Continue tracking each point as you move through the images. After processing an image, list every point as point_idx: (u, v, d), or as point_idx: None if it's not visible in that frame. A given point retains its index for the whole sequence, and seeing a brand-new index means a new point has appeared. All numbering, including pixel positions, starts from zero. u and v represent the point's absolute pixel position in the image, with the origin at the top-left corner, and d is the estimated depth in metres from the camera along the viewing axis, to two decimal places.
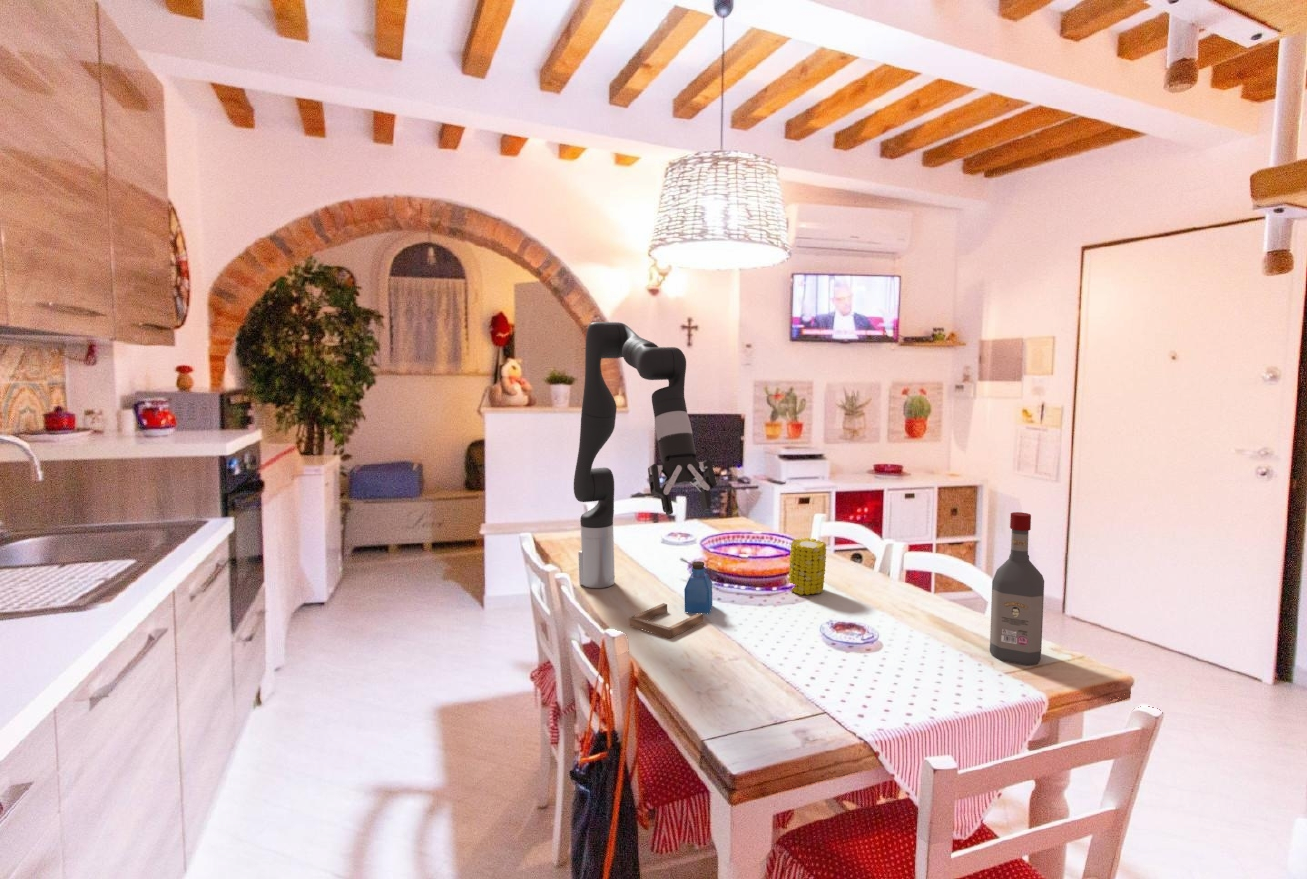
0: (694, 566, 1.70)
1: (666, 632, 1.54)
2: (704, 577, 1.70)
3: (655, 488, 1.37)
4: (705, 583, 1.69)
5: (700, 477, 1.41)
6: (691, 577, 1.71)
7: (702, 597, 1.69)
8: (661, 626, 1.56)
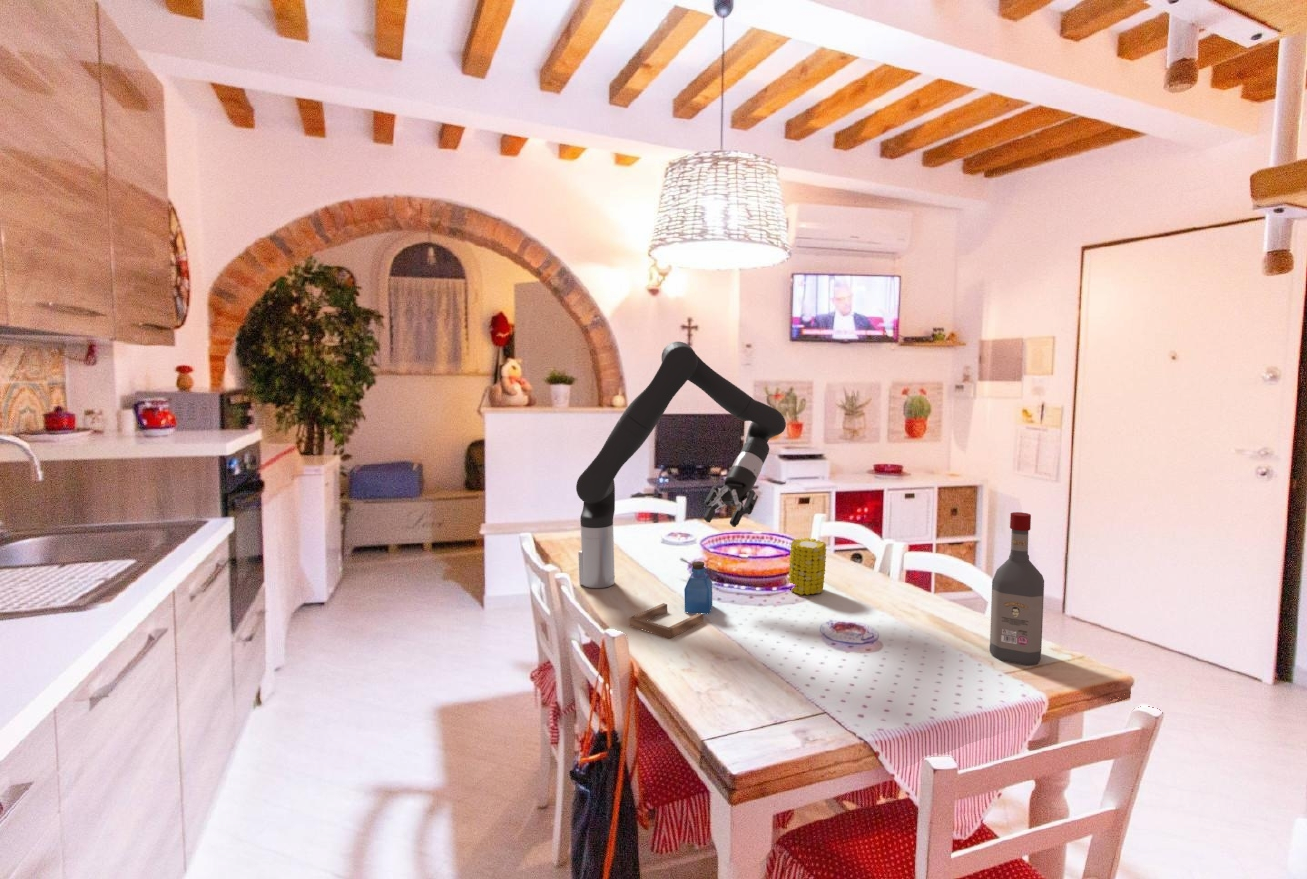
0: (694, 566, 1.70)
1: (666, 632, 1.54)
2: (704, 577, 1.70)
3: None
4: (705, 583, 1.69)
5: None
6: (691, 577, 1.71)
7: (701, 597, 1.69)
8: (661, 626, 1.56)
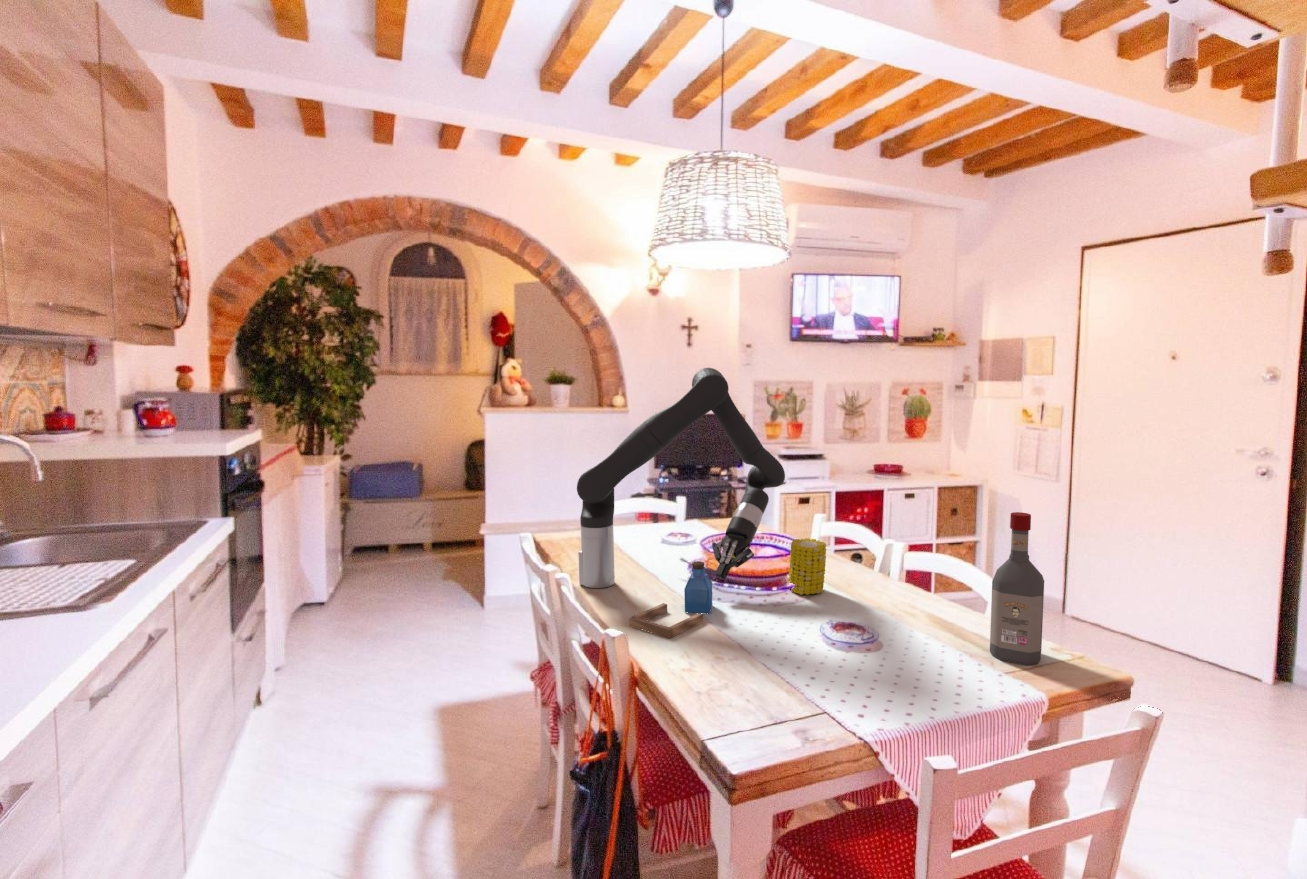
0: (694, 566, 1.70)
1: (666, 632, 1.54)
2: (704, 577, 1.70)
3: None
4: (705, 583, 1.69)
5: None
6: (691, 577, 1.71)
7: (701, 597, 1.69)
8: (661, 626, 1.56)
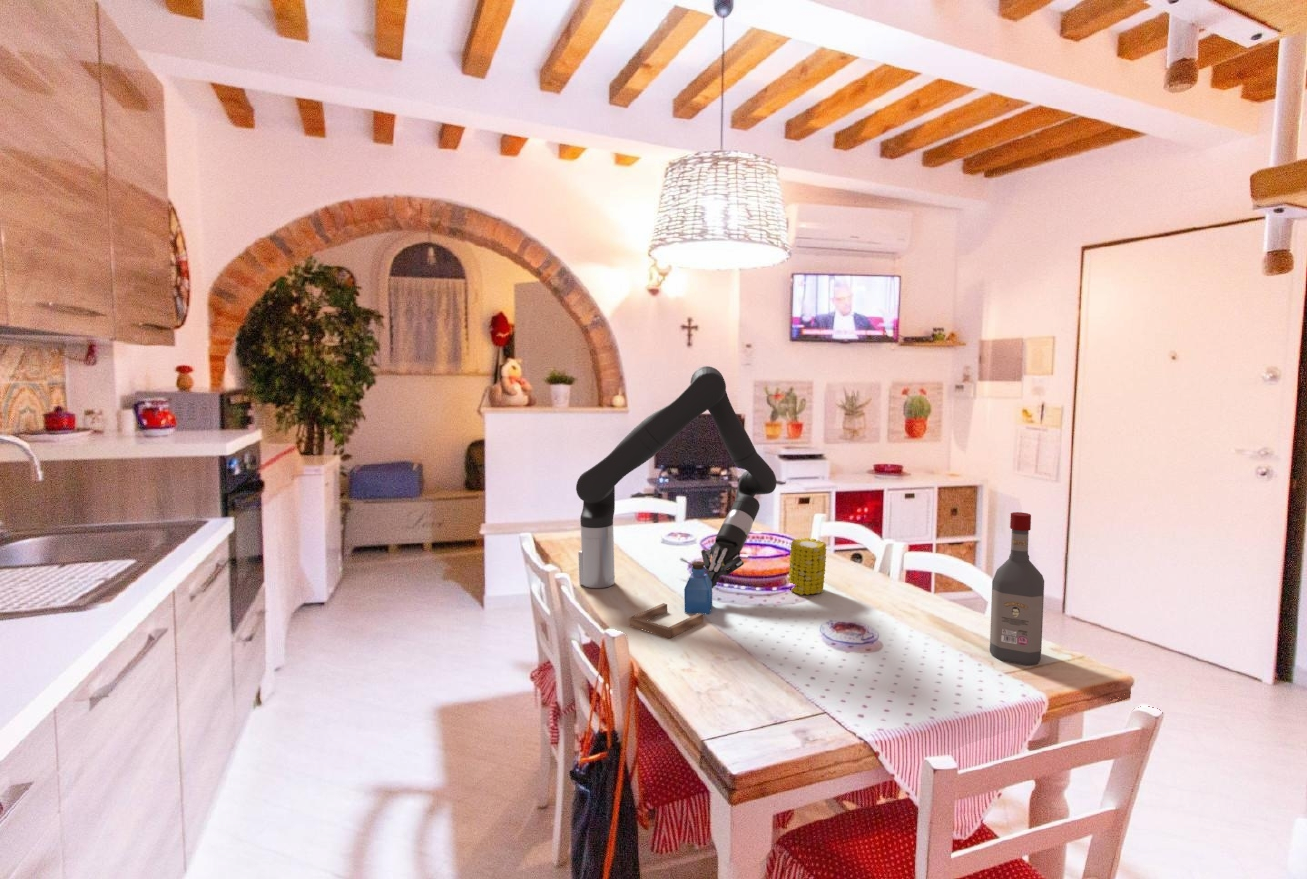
0: (694, 566, 1.70)
1: (666, 632, 1.54)
2: (704, 577, 1.70)
3: None
4: (705, 583, 1.69)
5: None
6: (691, 577, 1.71)
7: (701, 597, 1.69)
8: (661, 626, 1.56)
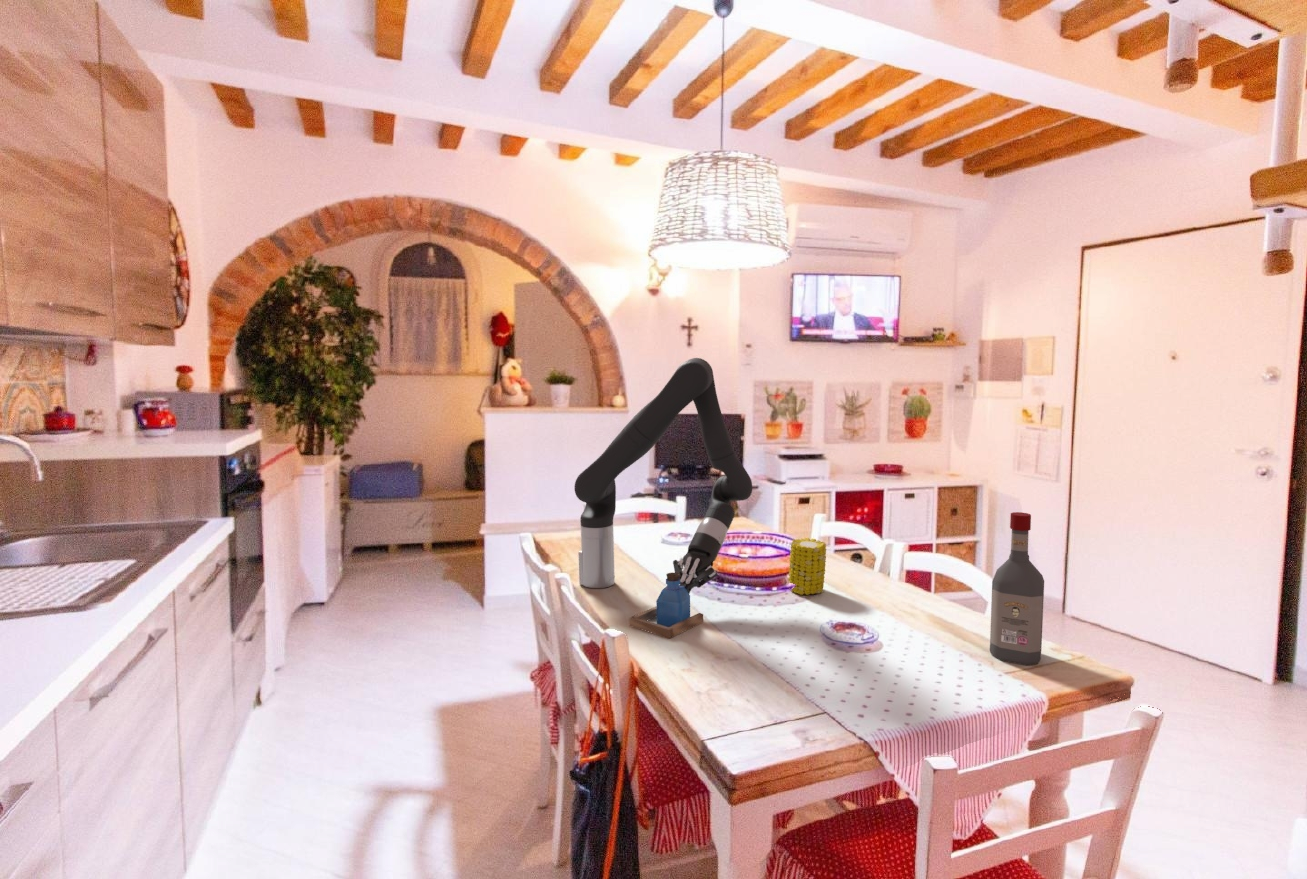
0: (668, 577, 1.61)
1: (666, 632, 1.54)
2: (678, 590, 1.61)
3: None
4: (677, 596, 1.59)
5: None
6: (665, 589, 1.62)
7: (673, 610, 1.59)
8: (661, 626, 1.56)
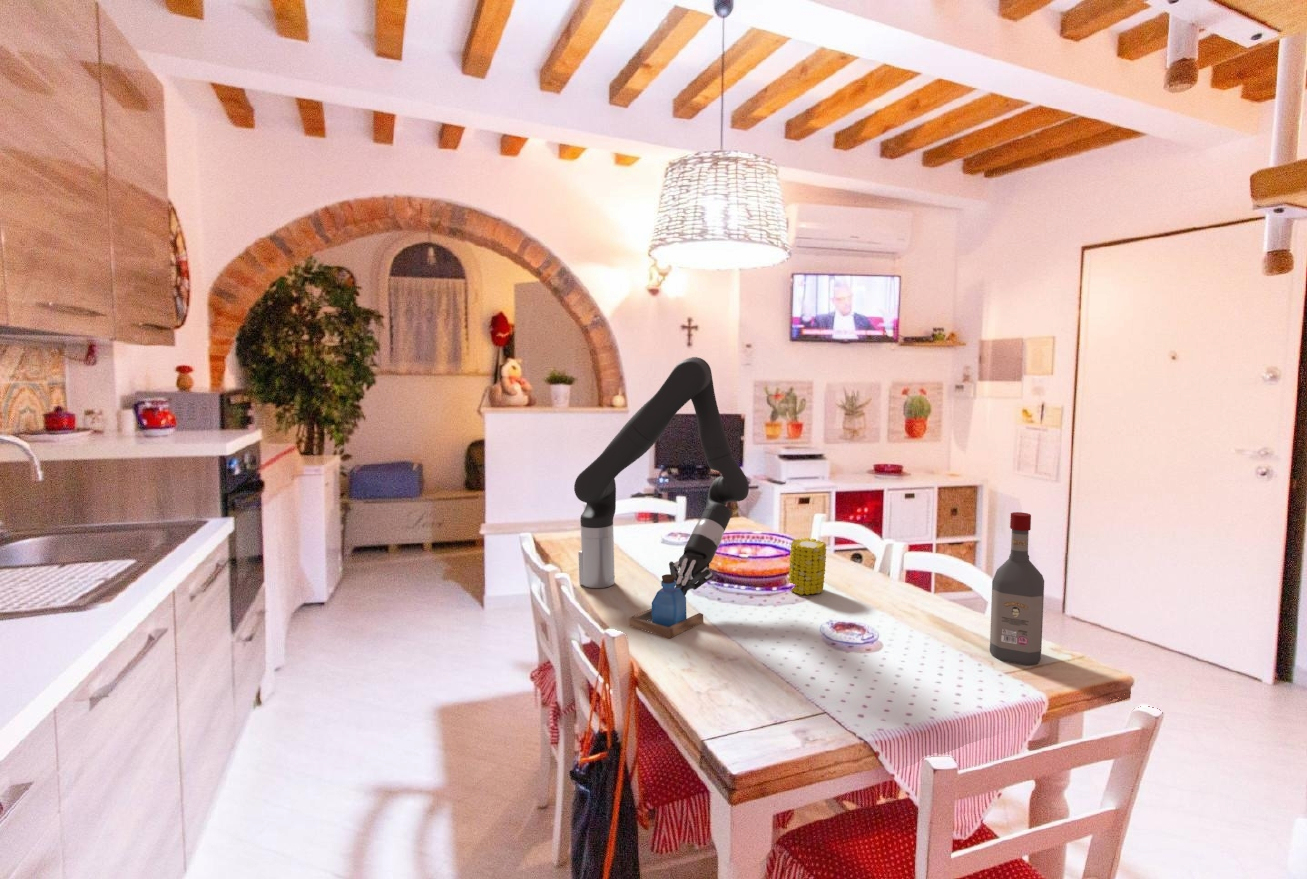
0: (663, 579, 1.60)
1: (666, 632, 1.54)
2: (673, 592, 1.59)
3: None
4: (672, 598, 1.58)
5: None
6: (660, 591, 1.60)
7: (668, 613, 1.58)
8: (661, 626, 1.56)
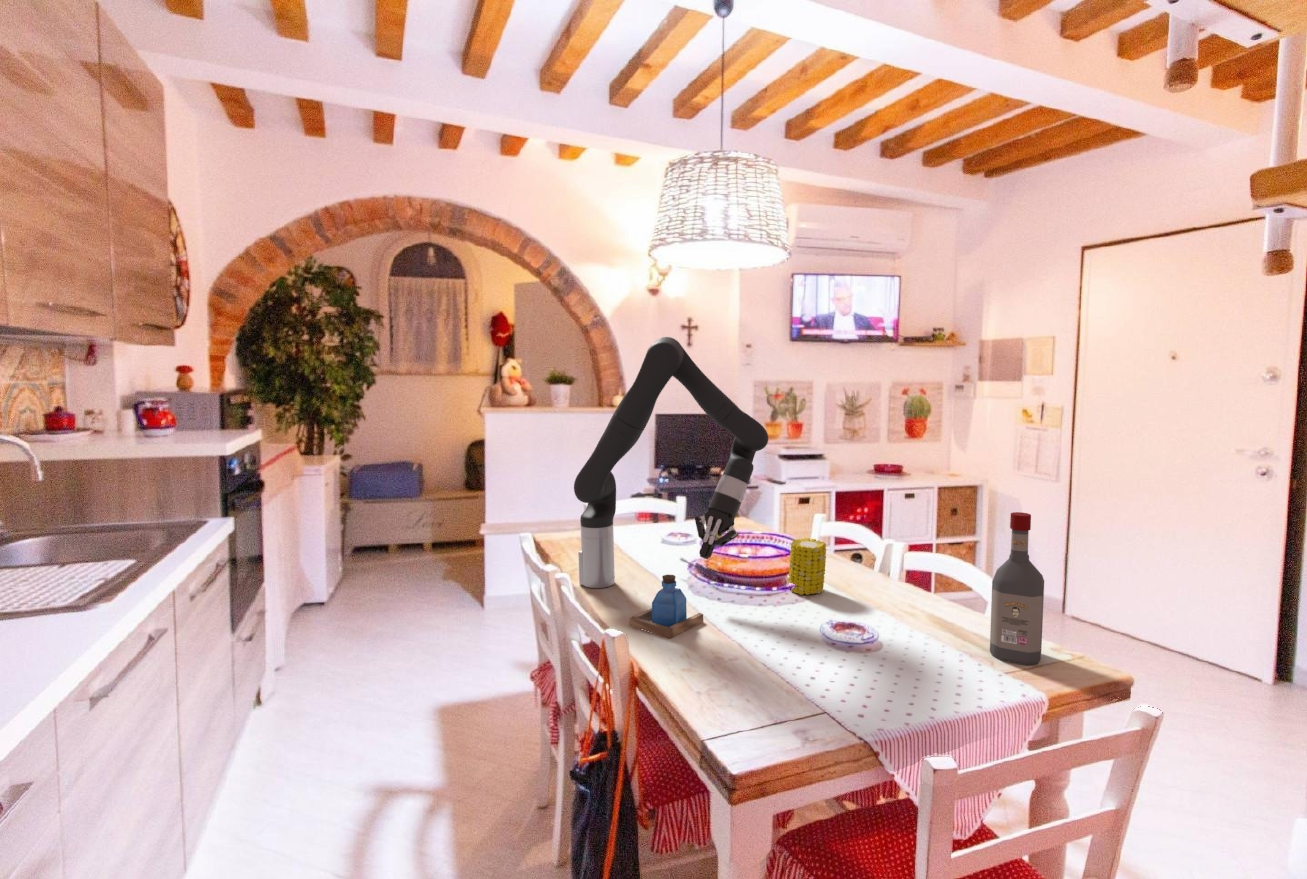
0: (663, 579, 1.60)
1: (666, 632, 1.54)
2: (673, 592, 1.59)
3: None
4: (673, 599, 1.58)
5: None
6: (660, 591, 1.60)
7: (669, 613, 1.58)
8: (661, 626, 1.56)
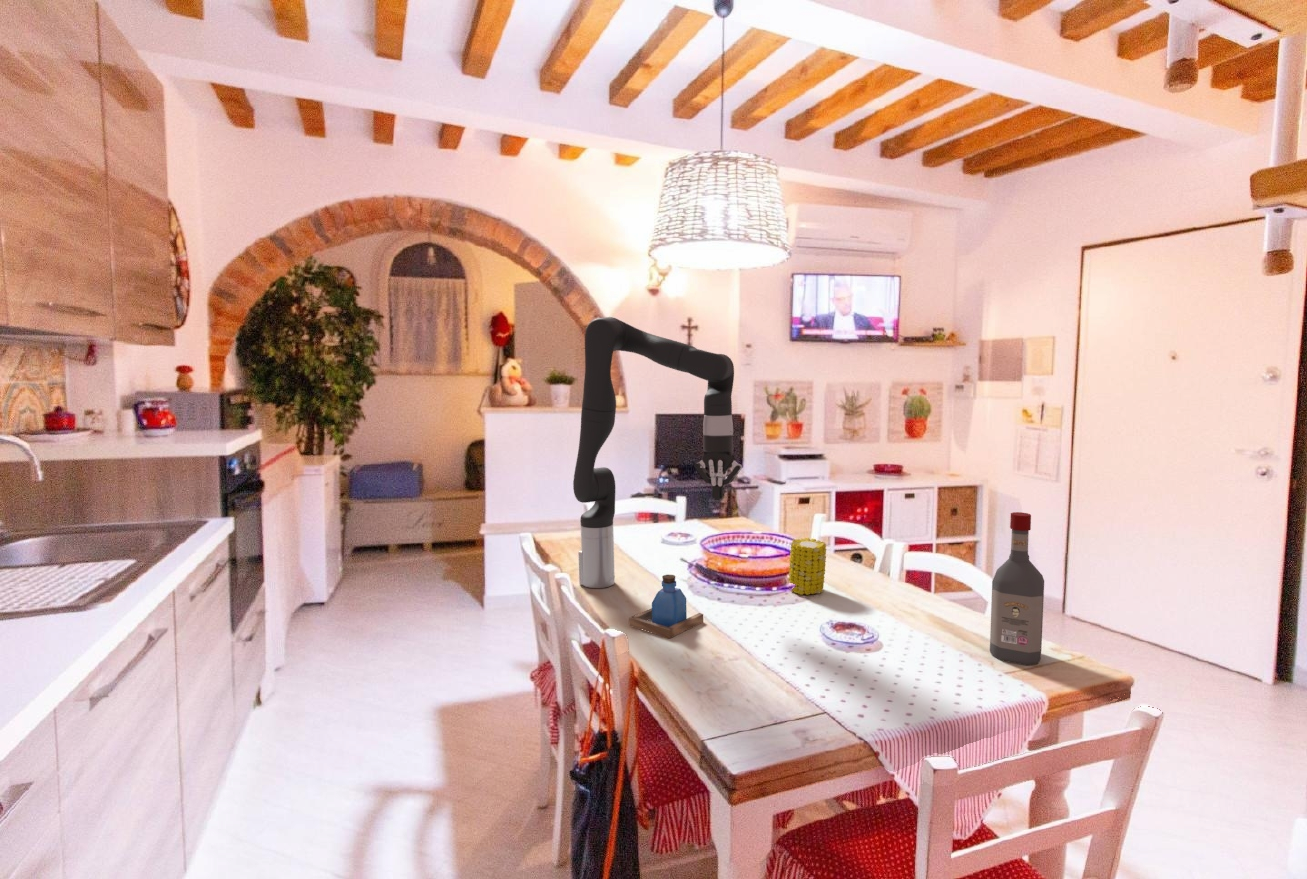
0: (663, 579, 1.60)
1: (666, 632, 1.54)
2: (673, 592, 1.59)
3: None
4: (673, 599, 1.58)
5: None
6: (660, 591, 1.60)
7: (669, 613, 1.58)
8: (661, 626, 1.56)
